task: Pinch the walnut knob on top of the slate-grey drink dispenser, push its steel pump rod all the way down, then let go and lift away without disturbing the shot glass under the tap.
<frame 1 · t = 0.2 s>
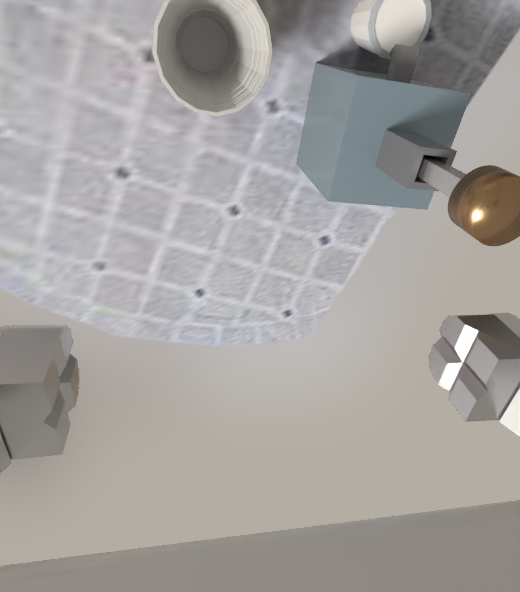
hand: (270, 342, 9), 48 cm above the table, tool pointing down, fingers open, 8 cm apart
plastic cup: (206, 45, 46), on the table
pump plunger: (461, 187, 32), point 26 cm above the table, slide at 0.0 cm
shot glass: (372, 21, 48), on the table
dispenser: (349, 122, 54), on the table
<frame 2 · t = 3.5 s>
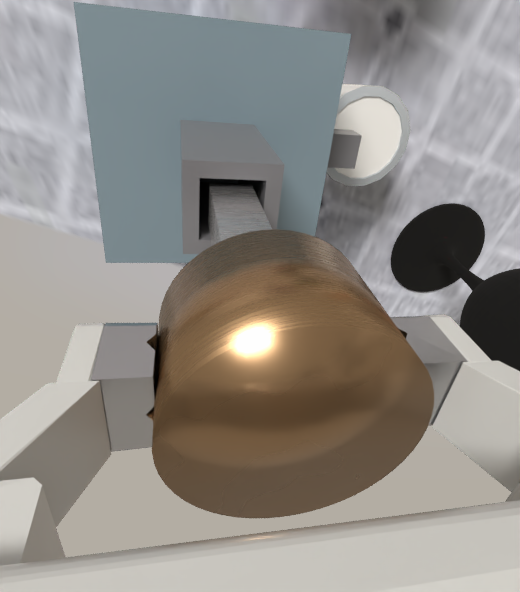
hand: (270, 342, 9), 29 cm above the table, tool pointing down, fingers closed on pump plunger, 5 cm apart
wine glass: (435, 248, 44), on the table
pump plunger: (250, 275, 11), point 26 cm above the table, slide at 0.0 cm, touching gripper
shot glass: (332, 119, 35), on the table
dispenser: (202, 111, 33), on the table
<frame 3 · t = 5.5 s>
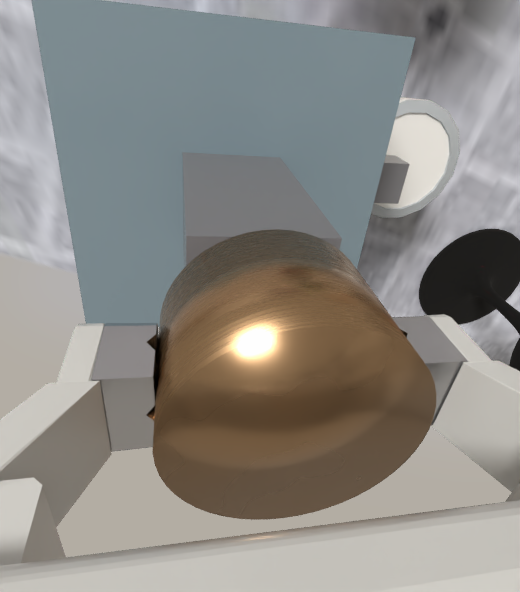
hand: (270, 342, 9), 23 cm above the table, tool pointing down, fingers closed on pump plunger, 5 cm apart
wine glass: (469, 277, 39), on the table
pump plunger: (251, 275, 11), point 20 cm above the table, slide at 6.1 cm, touching gripper
shot glass: (360, 136, 30), on the table
dispenser: (207, 126, 27), on the table
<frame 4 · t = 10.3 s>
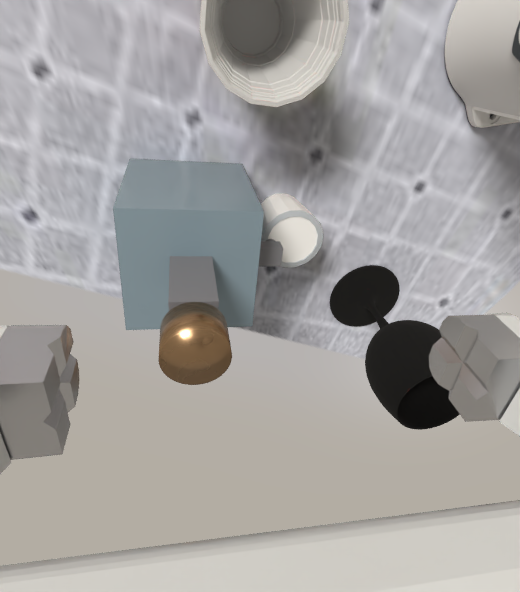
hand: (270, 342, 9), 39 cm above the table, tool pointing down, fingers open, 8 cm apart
wine glass: (363, 295, 59), on the table
plastic cup: (251, 24, 39), on the table
pump plunger: (193, 311, 32), point 20 cm above the table, slide at 6.1 cm
shot glass: (279, 214, 50), on the table
dispenser: (187, 213, 48), on the table
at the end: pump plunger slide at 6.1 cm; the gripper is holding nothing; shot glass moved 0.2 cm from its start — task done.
